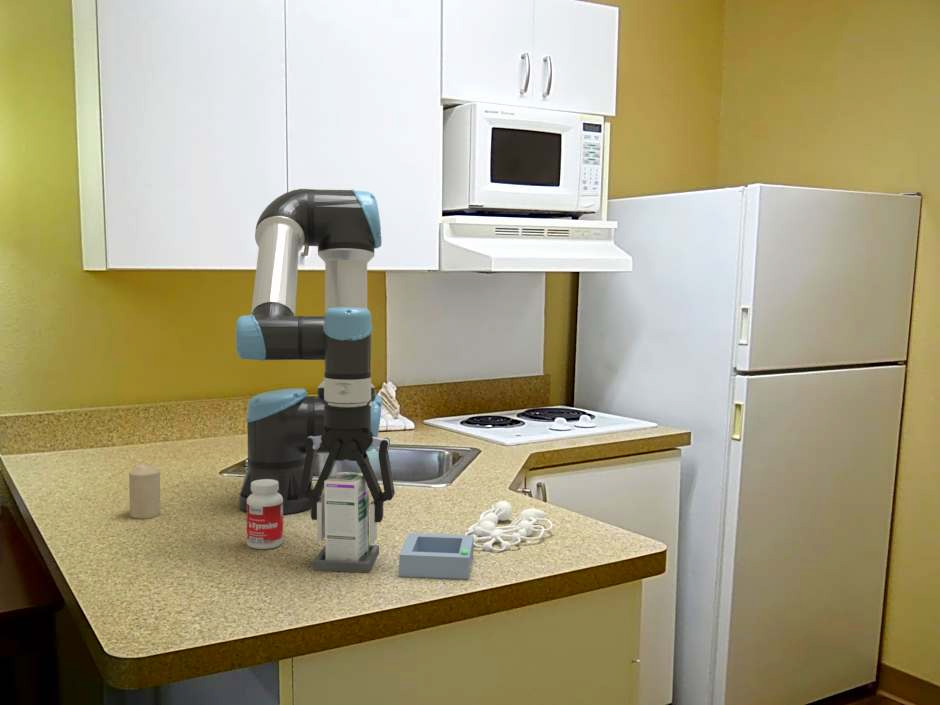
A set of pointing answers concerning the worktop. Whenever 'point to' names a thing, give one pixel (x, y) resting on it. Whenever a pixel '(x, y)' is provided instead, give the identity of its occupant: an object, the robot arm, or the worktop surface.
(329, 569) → the grey picture frame
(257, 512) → the pill bottle
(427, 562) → the frame
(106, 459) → the worktop surface
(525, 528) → the tangled rod sculpture
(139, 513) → the candle
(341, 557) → the syrup box
